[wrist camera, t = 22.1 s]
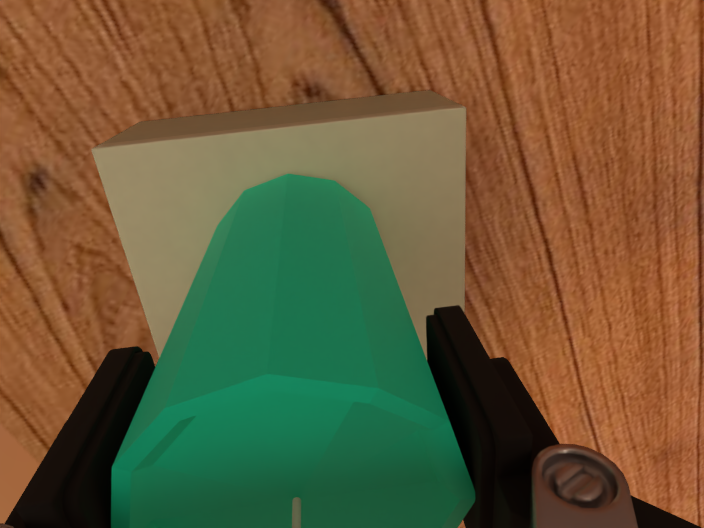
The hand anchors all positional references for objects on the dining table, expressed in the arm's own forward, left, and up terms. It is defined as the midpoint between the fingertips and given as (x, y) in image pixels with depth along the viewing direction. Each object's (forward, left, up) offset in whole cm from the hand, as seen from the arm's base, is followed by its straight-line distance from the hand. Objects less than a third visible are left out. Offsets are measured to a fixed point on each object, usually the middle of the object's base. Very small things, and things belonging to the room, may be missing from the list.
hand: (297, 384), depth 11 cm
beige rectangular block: (0, -5, -12) cm, 13 cm away
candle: (0, 0, -7) cm, 7 cm away
